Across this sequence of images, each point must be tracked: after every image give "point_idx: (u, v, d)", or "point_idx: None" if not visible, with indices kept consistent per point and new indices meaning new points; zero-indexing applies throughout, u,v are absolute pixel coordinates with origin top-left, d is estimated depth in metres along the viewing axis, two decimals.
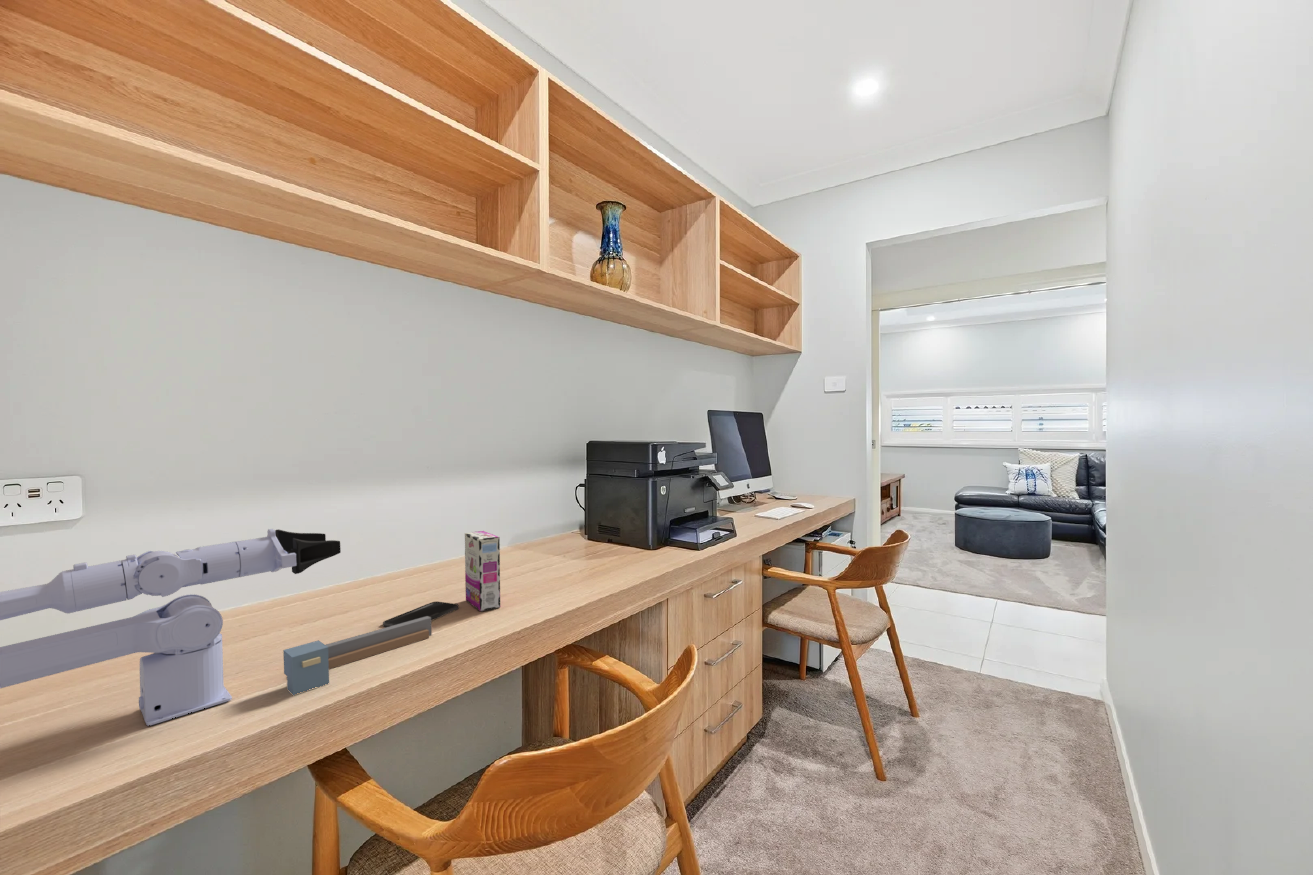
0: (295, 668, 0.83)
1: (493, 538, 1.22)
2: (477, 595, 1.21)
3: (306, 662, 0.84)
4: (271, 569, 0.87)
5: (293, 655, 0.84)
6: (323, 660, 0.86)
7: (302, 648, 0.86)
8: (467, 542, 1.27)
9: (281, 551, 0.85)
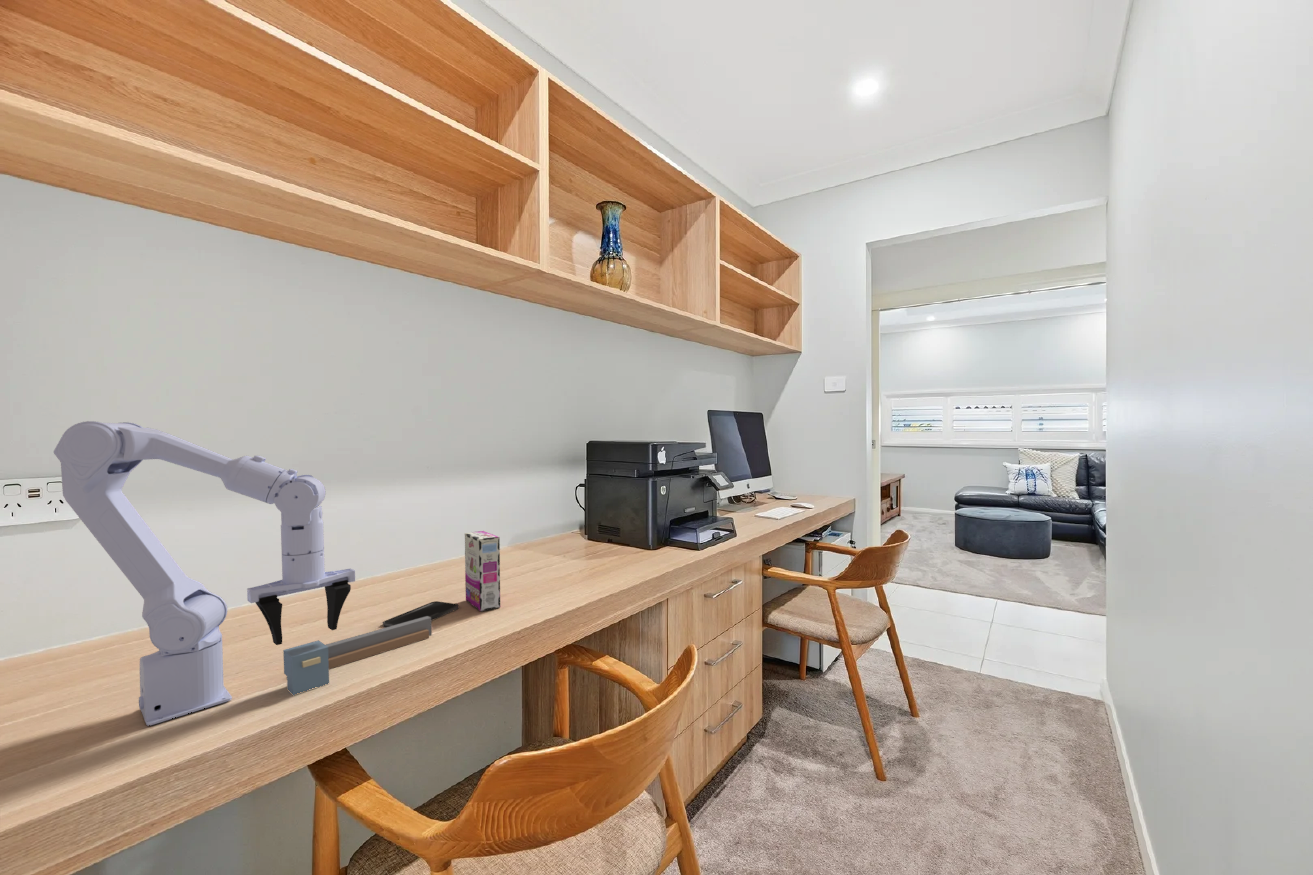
0: (295, 668, 0.83)
1: (493, 538, 1.22)
2: (477, 595, 1.21)
3: (306, 662, 0.84)
4: None
5: (293, 655, 0.84)
6: (323, 660, 0.86)
7: (302, 648, 0.86)
8: (467, 542, 1.27)
9: (266, 590, 0.81)
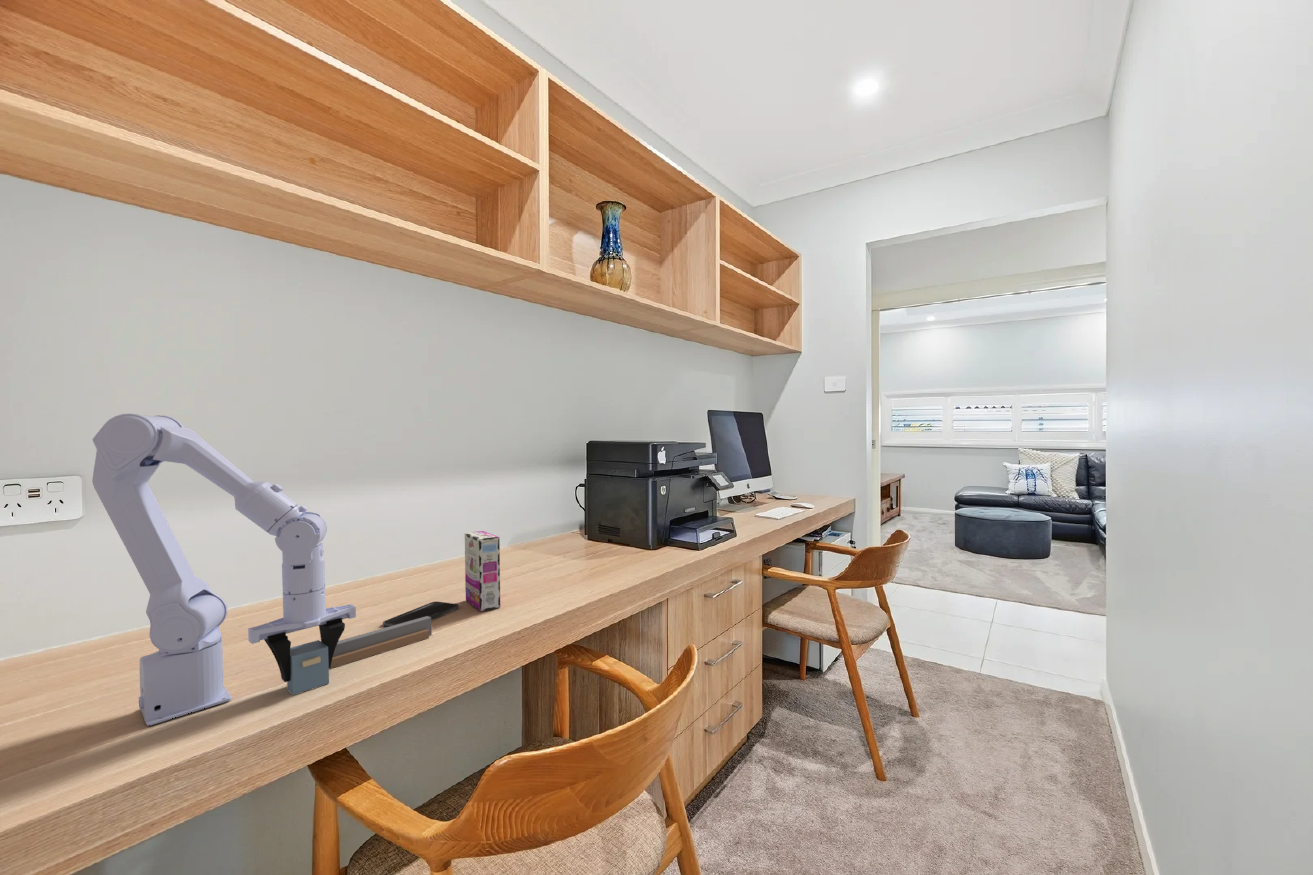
0: (295, 667, 0.83)
1: (493, 538, 1.22)
2: (477, 595, 1.21)
3: (306, 661, 0.84)
4: None
5: (293, 655, 0.84)
6: (323, 660, 0.86)
7: (302, 647, 0.86)
8: (467, 542, 1.27)
9: (267, 630, 0.81)
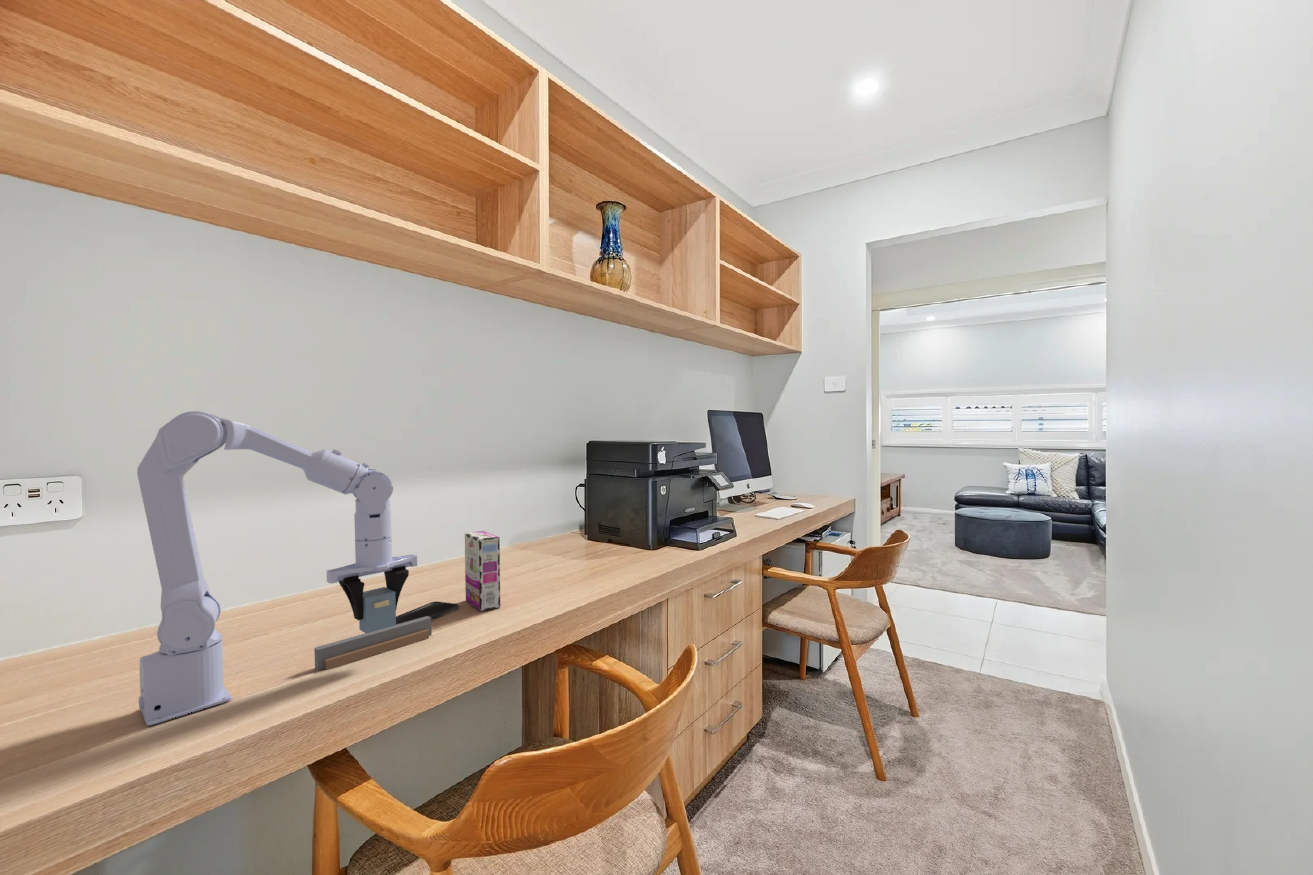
0: (368, 608, 0.92)
1: (493, 538, 1.22)
2: (477, 595, 1.21)
3: (377, 603, 0.93)
4: None
5: (366, 597, 0.92)
6: (391, 603, 0.95)
7: (371, 592, 0.95)
8: (467, 542, 1.27)
9: (343, 572, 0.90)
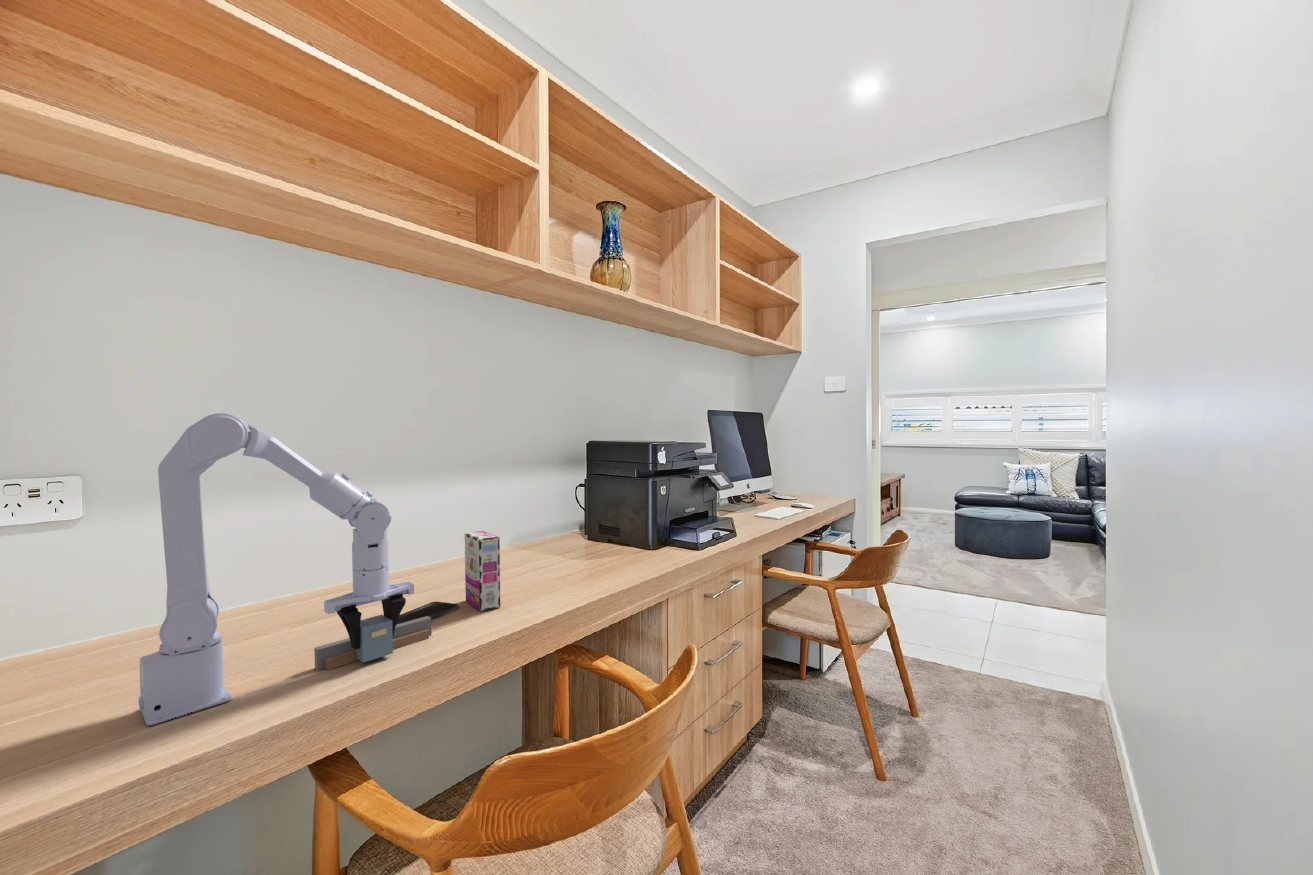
0: (365, 638, 0.93)
1: (493, 538, 1.22)
2: (477, 595, 1.21)
3: (374, 633, 0.94)
4: None
5: (363, 626, 0.93)
6: (388, 632, 0.96)
7: (369, 621, 0.96)
8: (467, 542, 1.27)
9: (341, 602, 0.91)
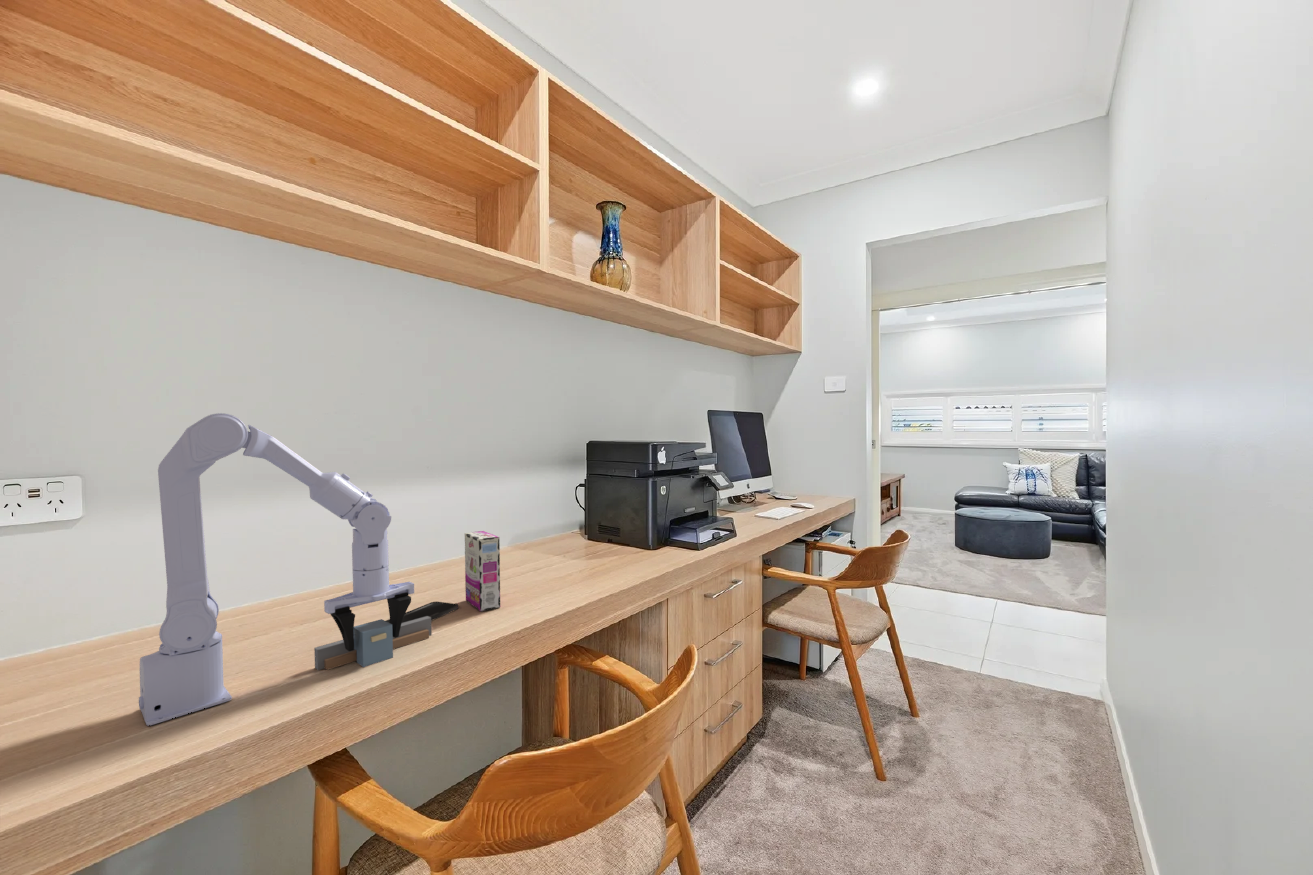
0: (365, 642, 0.93)
1: (493, 538, 1.22)
2: (477, 595, 1.21)
3: (375, 637, 0.94)
4: None
5: (363, 631, 0.93)
6: (388, 636, 0.96)
7: (368, 625, 0.96)
8: (467, 542, 1.27)
9: (341, 602, 0.91)
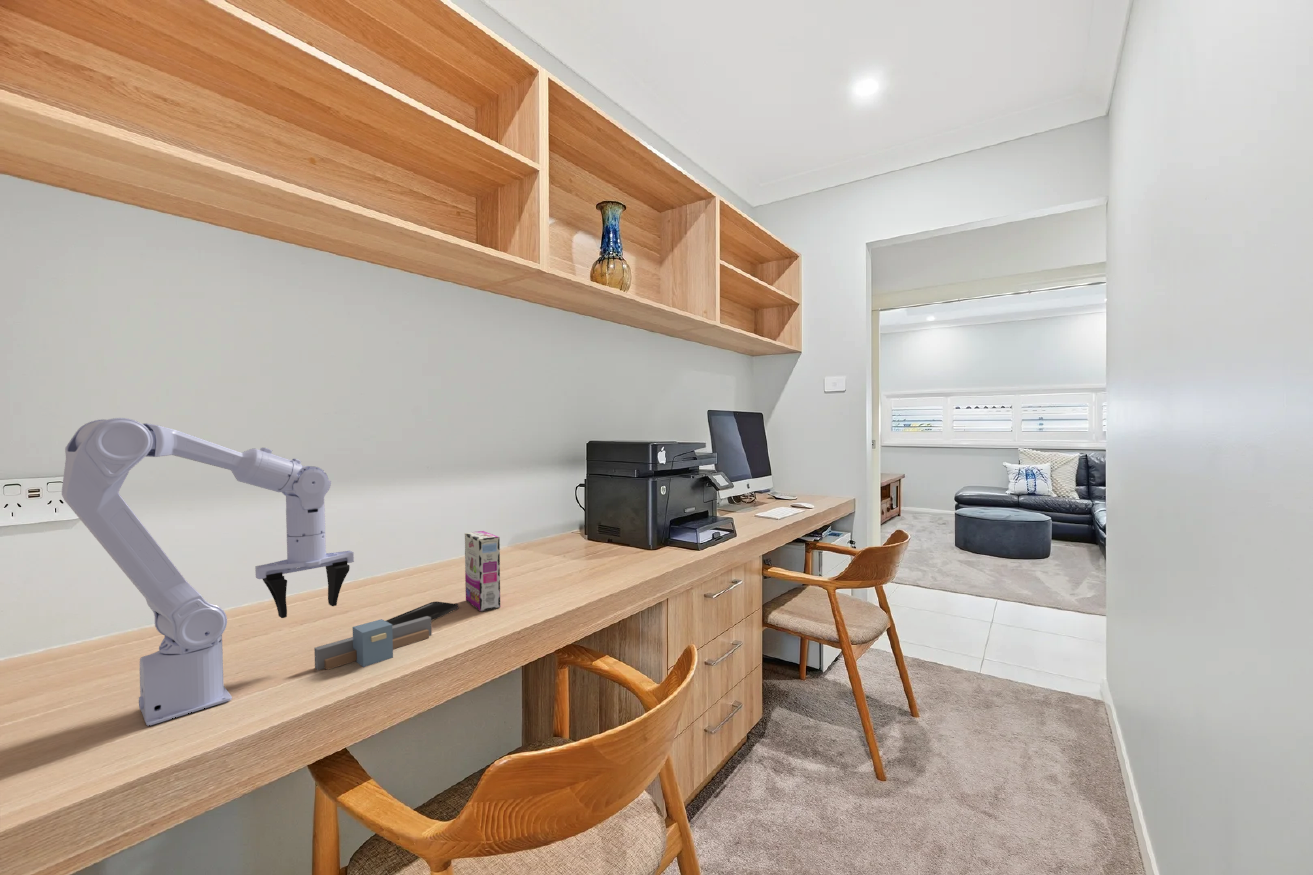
0: (365, 642, 0.93)
1: (493, 538, 1.22)
2: (477, 595, 1.21)
3: (375, 637, 0.94)
4: None
5: (363, 631, 0.93)
6: (388, 636, 0.96)
7: (368, 625, 0.96)
8: (467, 542, 1.27)
9: (272, 568, 0.89)
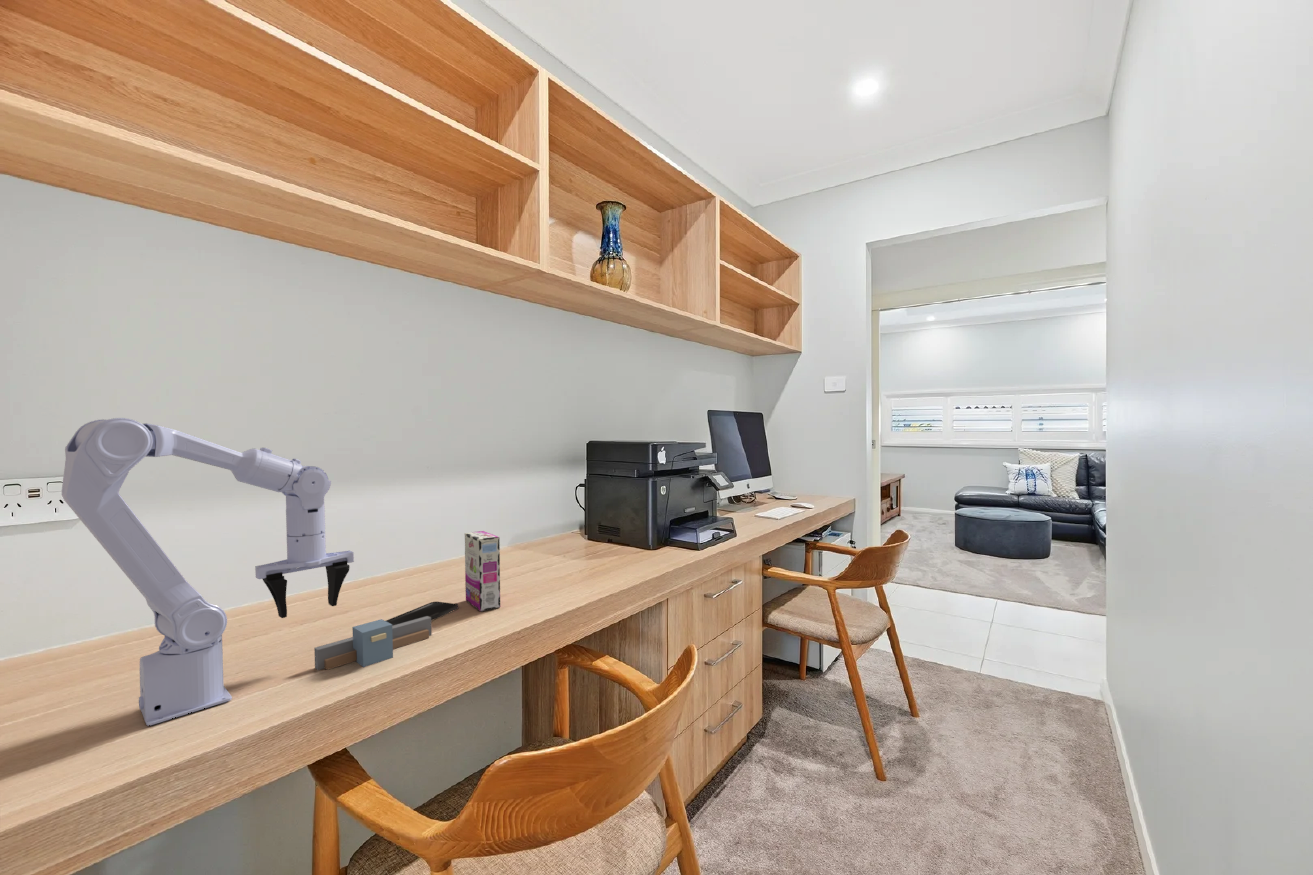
0: (365, 642, 0.93)
1: (493, 538, 1.22)
2: (477, 595, 1.21)
3: (375, 637, 0.94)
4: None
5: (363, 631, 0.93)
6: (388, 636, 0.96)
7: (368, 625, 0.96)
8: (467, 542, 1.27)
9: (272, 568, 0.89)
